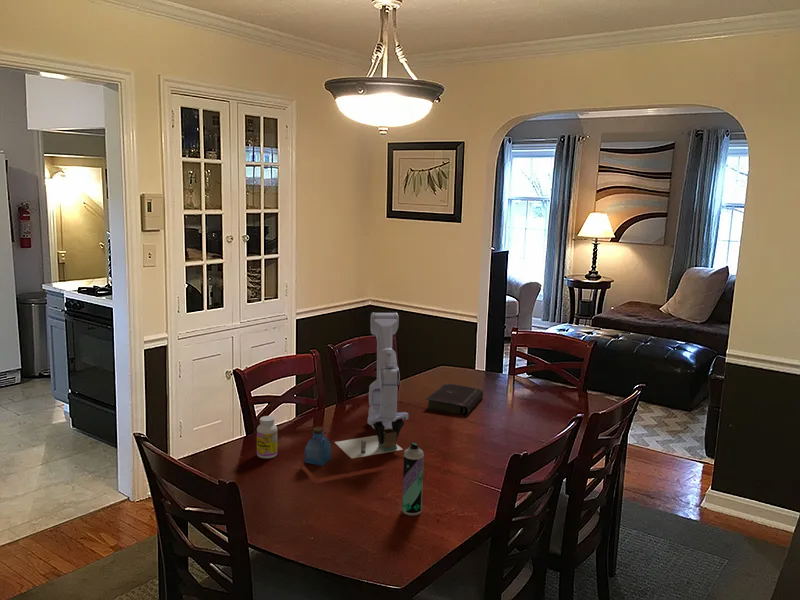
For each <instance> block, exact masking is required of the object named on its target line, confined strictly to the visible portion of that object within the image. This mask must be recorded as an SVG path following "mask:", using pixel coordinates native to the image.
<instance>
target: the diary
mask: <svg viewBox="0 0 800 600" xmlns="http://www.w3.org/2000/svg"><path fill="white" fill-rule="evenodd" d="M483 398H484V389H483V388H477V387H472V386H467V385H463V384H456V383H455V384H454V383H443V384H442V385H441V386H439V388H438V389H436V390H435V391H434V392H432V393H430V395H428V396H427V397H426V398H425V400H426V401H428V406H427V407H426V408H425V410H426V411H431V412H432V411H433V412H437V413H445V414H447V413H449V414H457V415H461V416H462V415H464V414H465V413H466V415H465V417H467V416H468V415H469V414H470V413H471V411H472V410H473V409H475V407H476V406H477V405H478V403H479V402H480V401H481V400H482V399H483Z"/></svg>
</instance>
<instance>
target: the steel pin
mask: <svg viewBox="0 0 800 600" xmlns="http://www.w3.org/2000/svg"><path fill="white" fill-rule="evenodd" d="M361 453H366V441H365V440H362V441H361Z"/></svg>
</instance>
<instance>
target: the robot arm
mask: <svg viewBox="0 0 800 600" xmlns="http://www.w3.org/2000/svg"><path fill="white" fill-rule="evenodd" d="M399 318H400V317H399V314H398V312H374V311H373V312H371V313H370V318H369V319H370V334H371V335H373V336H375V338H376V379H375V380H374V381H373V382H372V383H370V385H369V386H368V387H369V388H368V389H369V390H368V405H369V408H368V417H367V424H368V425H369V426H371V428H372V429H374V430H375V432H376V435H377V437H378V442H379V443H380V444H383V433H384V429H387V428H392V429H393V430H394V431H396V432H397V439H396V442H397V441H398V437H399V434H400V432H401V430H402V428H403V426H405V421H403V420H409V413H408V412H406V411H404V412H403V411H402V412H398V393H399V392H398V391H399V390H398V388H399V386H400V381H401V380H400V379H401V375H400V369H399V366H398V361H397V352H396V351H395V350H394V349H393V337H394V335H396V333H397V332H398V329H399V326H400V323H399V322H400V319H399Z"/></svg>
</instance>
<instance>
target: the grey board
mask: <svg viewBox="0 0 800 600" xmlns="http://www.w3.org/2000/svg"><path fill="white" fill-rule="evenodd" d="M362 440H365V441H366V453H361V441H362ZM378 443H379V442H378V437H377V434H376V435H371V436H370V435H369V436H365V437H356V438H350V439H345V440H341V441H340V440H339V441H334V444H336V445H337V446H338V447H339V448H340V449H341V450H342V452H344V453H345V454H346V455H347V456H348V457H350V459H356V458H363V457H369V456H375V455H380V454H386V453H392V452H396V451H398V452H399V451H403V450H404V449H403V448H402V447H401V446H400V445H398V444H397V443H396V446H397V449H395V450H389V451H383V450H382V449H381V448H380V447H378Z"/></svg>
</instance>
